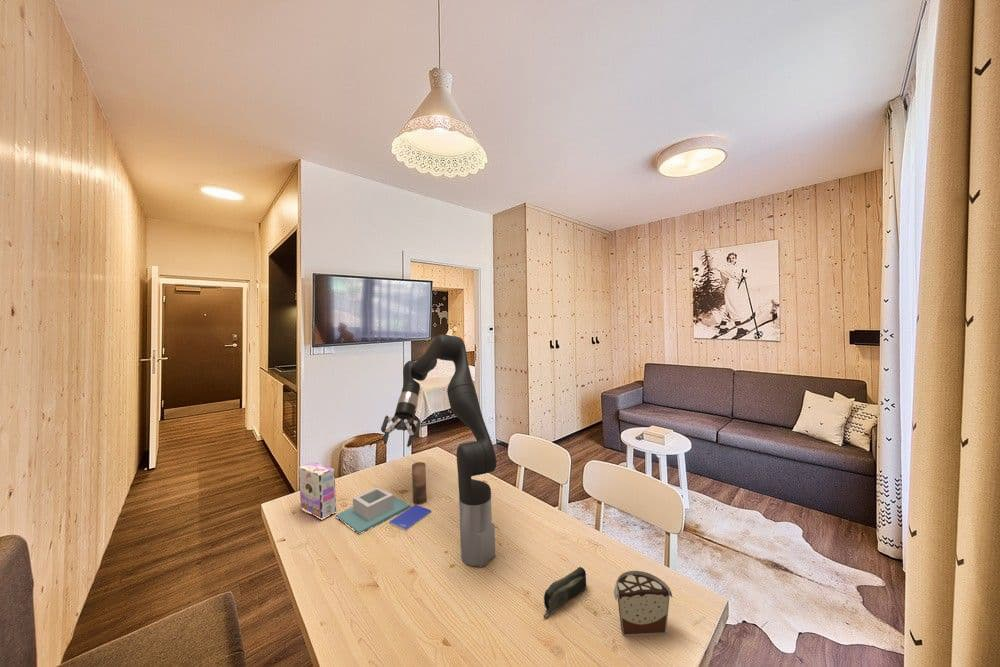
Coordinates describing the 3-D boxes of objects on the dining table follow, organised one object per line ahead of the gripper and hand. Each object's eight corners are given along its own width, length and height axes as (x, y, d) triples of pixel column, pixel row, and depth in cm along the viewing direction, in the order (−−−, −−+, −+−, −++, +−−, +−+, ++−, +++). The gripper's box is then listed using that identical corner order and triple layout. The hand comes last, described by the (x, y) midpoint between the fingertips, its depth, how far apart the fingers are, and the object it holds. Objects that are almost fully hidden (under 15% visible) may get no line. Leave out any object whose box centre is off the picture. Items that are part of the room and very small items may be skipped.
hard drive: (405, 528, 111) (431, 510, 121) (388, 521, 115) (414, 504, 126) (405, 533, 111) (431, 514, 121) (388, 525, 115) (415, 508, 126)
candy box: (337, 513, 122) (335, 468, 122) (321, 521, 117) (319, 475, 117) (315, 503, 130) (313, 460, 129) (300, 510, 125) (297, 466, 124)
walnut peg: (429, 500, 130) (428, 464, 129) (418, 505, 126) (417, 468, 125) (421, 496, 133) (419, 461, 132) (410, 501, 129) (409, 465, 129)
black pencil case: (579, 563, 88) (537, 591, 79) (588, 569, 86) (547, 600, 76) (579, 582, 88) (537, 612, 79) (588, 589, 86) (547, 621, 76)
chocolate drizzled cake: (658, 609, 79) (658, 567, 79) (672, 633, 73) (672, 588, 73) (606, 611, 79) (605, 570, 78) (616, 636, 72) (615, 591, 72)
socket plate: (410, 507, 125) (410, 491, 125) (359, 534, 109) (358, 516, 109) (386, 494, 135) (385, 479, 135) (335, 517, 119) (334, 501, 119)
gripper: (388, 398, 134) (376, 439, 124) (424, 403, 135) (415, 443, 125) (390, 407, 140) (378, 446, 130) (424, 411, 141) (416, 450, 131)
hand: (396, 444), depth 127 cm, fingers open, 8 cm apart
